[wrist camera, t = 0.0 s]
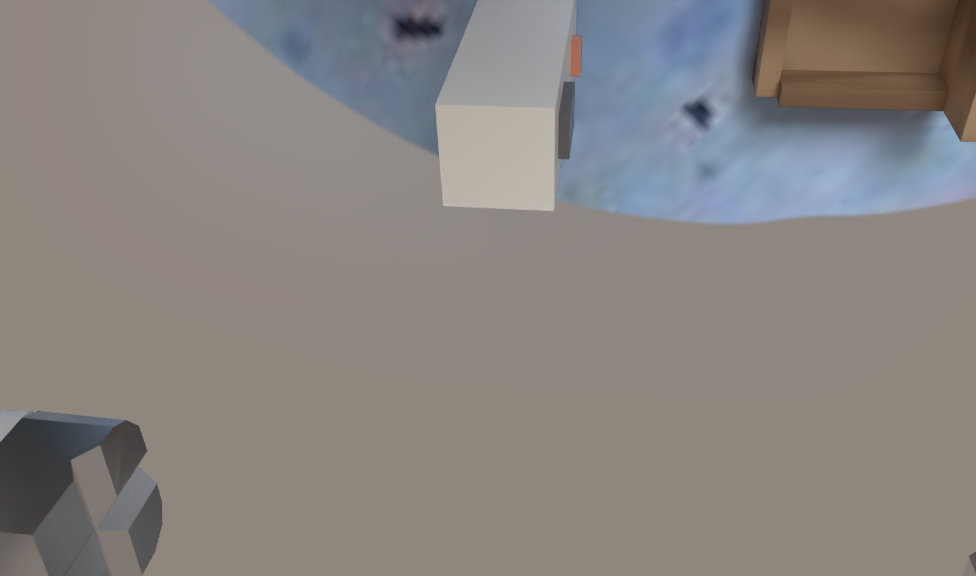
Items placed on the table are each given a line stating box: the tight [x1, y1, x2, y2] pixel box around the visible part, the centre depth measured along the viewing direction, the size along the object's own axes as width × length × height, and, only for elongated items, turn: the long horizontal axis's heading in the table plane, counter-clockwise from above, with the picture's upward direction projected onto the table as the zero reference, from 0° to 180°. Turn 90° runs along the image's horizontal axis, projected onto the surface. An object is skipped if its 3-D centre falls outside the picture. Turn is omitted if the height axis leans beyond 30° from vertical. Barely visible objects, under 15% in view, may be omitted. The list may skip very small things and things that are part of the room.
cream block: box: [435, 0, 582, 211], centre depth 41 cm, size 4×5×14 cm
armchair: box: [752, 0, 976, 142], centre depth 40 cm, size 10×10×6 cm
